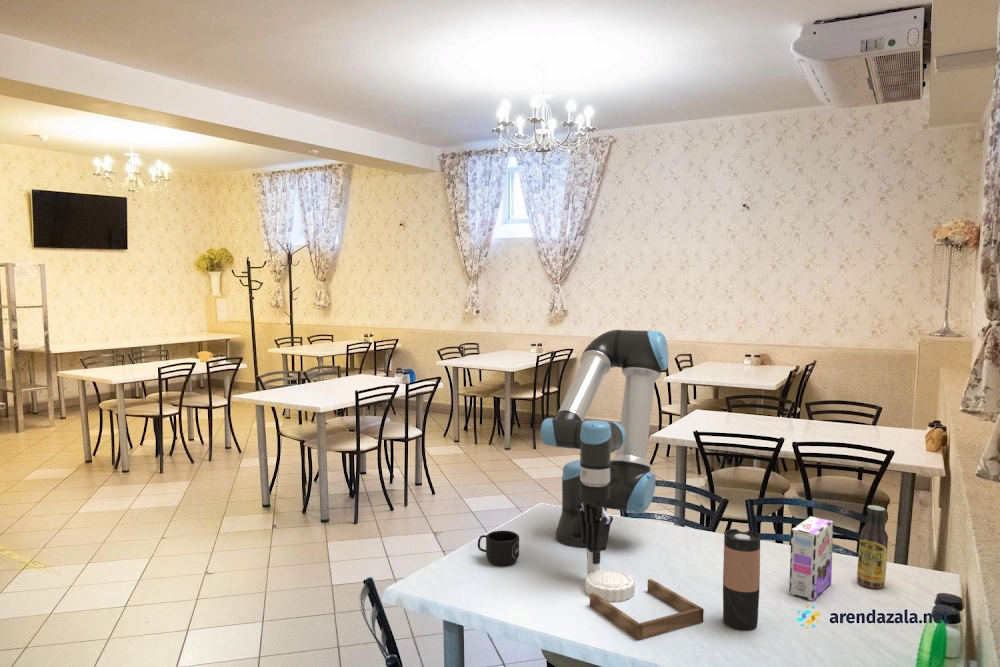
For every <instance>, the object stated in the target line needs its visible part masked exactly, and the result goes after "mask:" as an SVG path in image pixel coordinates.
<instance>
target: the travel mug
mask: <svg viewBox="0 0 1000 667" xmlns="http://www.w3.org/2000/svg"><path fill="white" fill-rule="evenodd" d="M723 536H724V537H723V538H724V540H723V544H724V545H723V568H722V570H723V571H722V611H723V612H722V617H723V619H722V621H723V622H724V624H725V625H726V626H727V627H729V628H731V629H734V630H737V631H747V632H748V631H753V630H755V629H757V627H758V621H759V603H760V602H759V601H760V588H761V587H760V585H761V583H760V581H761V579H760V578H761V577H760V576H761V575H760V574H761V573H760V572H761V536H760V534H758V533H757V532H755V531H752V530H747V531H740V530H739V529H737V528H730V529H727V530H726V531H724V535H723Z"/></svg>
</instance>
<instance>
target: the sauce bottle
mask: <svg viewBox="0 0 1000 667" xmlns="http://www.w3.org/2000/svg"><path fill="white" fill-rule="evenodd" d="M866 512H867V518H866V523H865V524H864V526H863V528H861V532H860V537H859V538H860V539H859V545H858V546H859V547H858V558H857V571H856V572H857V573H856V575H857V576H856V578H857V579H856V581H857V583H858V584H859V585H861V586H863V587H865V588H871V589H875V590H879V589H881V588H884V586H885V582H886V572H887V561H888V560H887V559H888V558H887V557H888V542H889V535H888V533H887V532H886V529H885V516H886V513H887V512H886V508H885V507H883V506H879V505H874V504H872V505H871V504H869V505H867V508H866Z"/></svg>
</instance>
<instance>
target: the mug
mask: <svg viewBox="0 0 1000 667" xmlns="http://www.w3.org/2000/svg"><path fill="white" fill-rule="evenodd" d="M482 538H485V549H484V548H482V546H481V540H482ZM477 548H478V551H481V552H483V553H485V555H486V558H487V559H486V560H488V561H489V562H490V563H491V564H494V565H496V566H509V565H511V564H514V563H516V562H517V560H518V558H519V556H520V536H519V534H518V533H516V532H515V531H510V530H494V531H491V532H489V533H487V535H486V534H483V535H480V536H479V537H478V540H477Z"/></svg>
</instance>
